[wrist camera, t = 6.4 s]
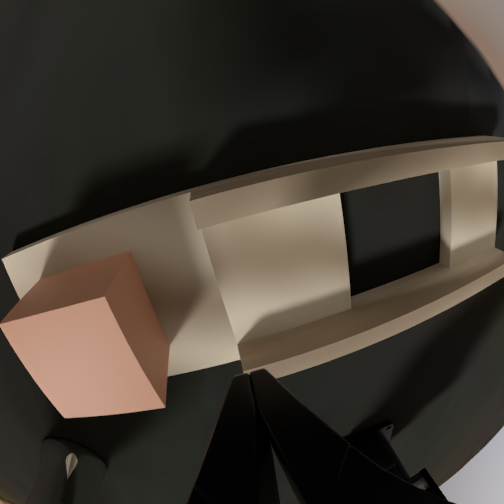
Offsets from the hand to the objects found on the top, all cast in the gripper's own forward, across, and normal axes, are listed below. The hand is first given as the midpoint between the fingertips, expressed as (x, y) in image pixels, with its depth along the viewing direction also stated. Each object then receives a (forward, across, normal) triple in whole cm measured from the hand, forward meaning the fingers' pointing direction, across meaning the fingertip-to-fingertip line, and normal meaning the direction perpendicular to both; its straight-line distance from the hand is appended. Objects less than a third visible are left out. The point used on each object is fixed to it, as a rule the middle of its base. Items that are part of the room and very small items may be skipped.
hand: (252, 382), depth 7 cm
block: (+6, +6, 0) cm, 9 cm away
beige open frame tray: (+7, -4, 0) cm, 8 cm away
